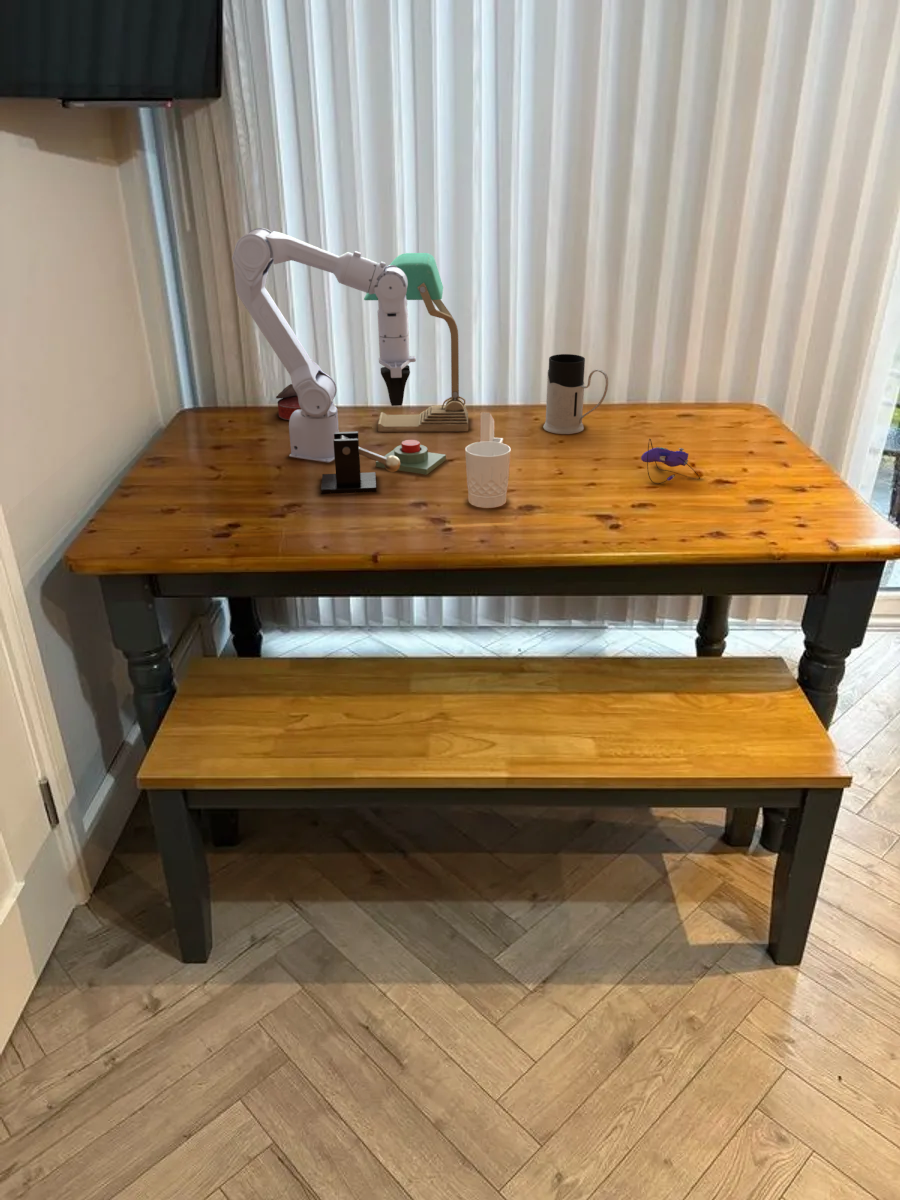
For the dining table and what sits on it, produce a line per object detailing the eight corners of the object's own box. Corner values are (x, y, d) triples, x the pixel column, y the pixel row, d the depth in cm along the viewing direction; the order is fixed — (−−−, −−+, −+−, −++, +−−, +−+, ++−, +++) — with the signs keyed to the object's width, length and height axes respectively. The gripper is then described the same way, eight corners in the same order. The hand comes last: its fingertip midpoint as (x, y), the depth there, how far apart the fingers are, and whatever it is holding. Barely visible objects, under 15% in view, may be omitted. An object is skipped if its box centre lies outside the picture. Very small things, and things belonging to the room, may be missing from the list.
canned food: (284, 439, 215) (259, 401, 211) (297, 420, 223) (273, 384, 219) (324, 419, 210) (300, 380, 206) (336, 401, 219) (313, 363, 214)
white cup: (514, 496, 171) (516, 443, 166) (502, 513, 165) (503, 458, 160) (473, 491, 173) (473, 439, 169) (459, 507, 167) (459, 453, 162)
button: (398, 452, 184) (398, 444, 183) (406, 447, 187) (406, 438, 186) (415, 455, 183) (414, 446, 182) (423, 449, 186) (422, 441, 185)
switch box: (375, 468, 185) (375, 452, 183) (396, 454, 192) (396, 438, 190) (426, 476, 181) (426, 460, 179) (446, 461, 188) (446, 445, 186)
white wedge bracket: (476, 457, 182) (480, 412, 183) (483, 466, 192) (487, 423, 192) (495, 458, 182) (499, 413, 182) (501, 467, 192) (505, 424, 192)
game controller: (667, 442, 185) (706, 446, 177) (660, 484, 186) (698, 490, 178) (630, 435, 180) (668, 439, 171) (623, 478, 181) (660, 484, 173)
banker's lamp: (468, 436, 201) (468, 263, 184) (370, 437, 201) (361, 264, 185) (468, 414, 215) (467, 251, 198) (376, 414, 215) (368, 252, 198)
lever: (396, 470, 177) (402, 456, 176) (396, 476, 174) (403, 462, 173) (336, 447, 174) (342, 432, 173) (336, 452, 171) (342, 438, 170)
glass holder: (556, 419, 211) (559, 351, 204) (613, 430, 204) (618, 360, 197) (535, 429, 205) (538, 359, 198) (594, 441, 198) (598, 369, 190)
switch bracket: (375, 478, 180) (373, 428, 175) (376, 493, 173) (373, 442, 168) (322, 480, 179) (318, 430, 175) (321, 496, 172) (317, 444, 168)
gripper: (416, 342, 174) (418, 415, 180) (412, 325, 187) (415, 393, 193) (378, 344, 173) (381, 416, 180) (376, 326, 186) (380, 394, 192)
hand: (396, 404), depth 186 cm, fingers closed
